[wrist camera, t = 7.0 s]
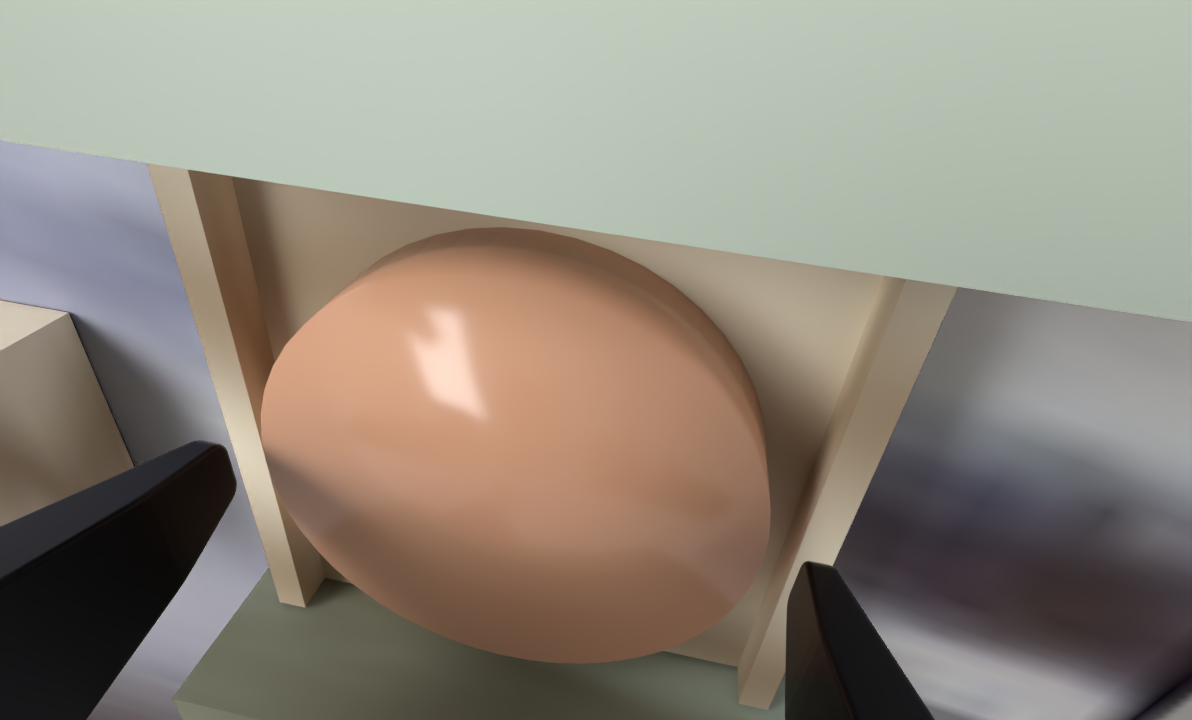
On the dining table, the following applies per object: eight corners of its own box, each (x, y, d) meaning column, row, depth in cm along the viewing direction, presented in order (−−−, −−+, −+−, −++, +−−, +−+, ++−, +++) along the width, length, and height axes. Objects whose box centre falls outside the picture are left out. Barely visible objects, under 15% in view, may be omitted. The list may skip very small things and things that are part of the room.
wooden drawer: (780, 661, 16) (795, 889, 12) (314, 561, 17) (193, 739, 13) (1133, -150, 7) (1597, -256, 3) (122, -235, 8) (-399, -387, 4)
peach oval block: (827, 274, 9) (843, 334, 7) (715, 625, 13) (713, 701, 12) (276, 189, 9) (202, 230, 8) (347, 547, 14) (307, 611, 13)
